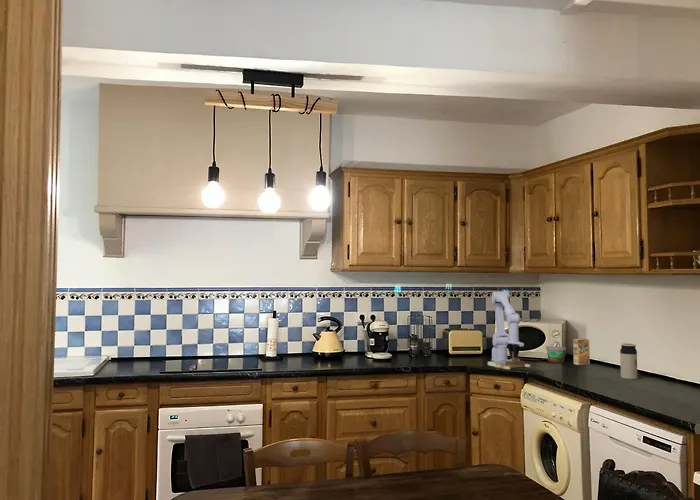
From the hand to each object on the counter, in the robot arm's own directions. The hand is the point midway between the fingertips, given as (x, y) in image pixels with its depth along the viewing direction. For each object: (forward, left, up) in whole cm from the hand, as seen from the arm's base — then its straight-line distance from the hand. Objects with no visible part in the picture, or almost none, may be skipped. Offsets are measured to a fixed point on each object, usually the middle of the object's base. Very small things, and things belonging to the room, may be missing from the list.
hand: (513, 357), depth 334 cm
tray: (-10, 0, -6) cm, 11 cm away
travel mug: (+55, +29, -6) cm, 62 cm away
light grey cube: (-3, -4, -6) cm, 8 cm away
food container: (0, +35, -6) cm, 36 cm away
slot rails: (-1, 0, -6) cm, 6 cm away
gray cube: (-3, +4, -6) cm, 7 cm away
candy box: (+13, +43, -6) cm, 45 cm away
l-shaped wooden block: (0, +1, -6) cm, 6 cm away
